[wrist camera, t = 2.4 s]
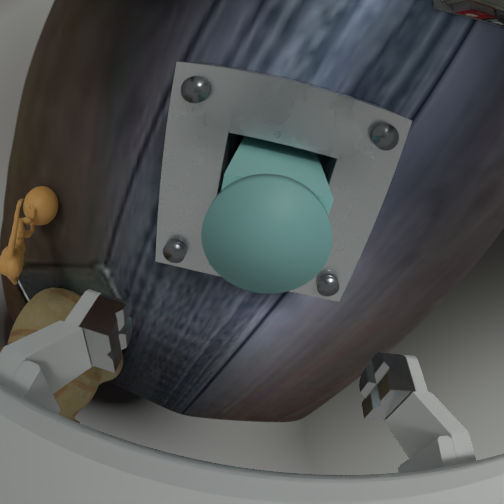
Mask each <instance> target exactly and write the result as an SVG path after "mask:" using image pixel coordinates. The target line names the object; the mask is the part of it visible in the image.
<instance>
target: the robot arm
mask: <svg viewBox="0 0 504 504" xmlns="http://www.w3.org/2000/svg"><path fill="white" fill-rule="evenodd" d="M131 311H132V308H131V303H130V302H129V301H125V300H122V299H119V298H116V297H113V296H109V295H106V294H103V293H99V292H96V291H93V290H90V289H89V290H87V291H85V292H84V294H83V295H82V297H81V298H80V299H79V301H78V302H77V304H76V305H75V306H74V308H73V309H72V311H71V312H70V314H69V315H68V316H67V318H66V319H65V321H61V320H60V321H58V322H56V323H53V324H51V325H49V326H47V327H45V328H43V329H41V330H38V331H36V332H34V333H32V334H30V335H28V336H26V337H24V338H21V339H19V340H17V341H15V342H13V343H11V344H9V345H7V346H5V347H4V348H3V349H2V351H1V352H0V504H504V454H502V455H498V456H494V457H490V458H486V459H482V460H477V461H476V458H475V454H474V450H473V447H472V443H471V439H470V436H469V432H468V431H467V430H466V429H465V428H464V427H463V426H462V425H461V424H460V423H459V422H458V420H457V419H456V418H455V417H454V416H453V415H452V414H451V413H450V412H449V411H448V410H447V409H446V408H445V407H444V405H443V404H442V403H441V402H440V401H439V400H438V399H437V398H436V397H435V396H434V395H433V394H432V393H430V392H428V391H427V387H426V384H425V381H424V378H423V374H422V371H421V368H420V365H419V362H418V359H417V358H416V357H415V356H409V355H400V354H390V353H381V352H378V353H376V354H375V355H374V356H373V358H372V364H371V365H369V366H367V367H366V368H365V369H364V371H363V372H362V374H361V378H360V384H359V387H360V393H361V394H362V395H363V396H364V398H365V399H364V400H363V402H362V407H363V414H364V419H374V420H385V423H386V424H387V426H388V427H389V429H390V430H391V432H392V433H393V435H394V436H395V438H396V439H397V441H398V442H399V444H400V445H401V447H402V448H403V450H404V451H405V453H406V454H407V456H408V457H409V460H407V461H406V462H404V463H403V464H401V465H400V467H399V468H398V471H399V473H388V474H370V475H314V474H313V475H312V474H296V473H283V472H273V471H264V470H255V469H248V468H241V467H235V466H228V465H222V464H217V463H212V462H207V461H202V460H197V459H192V458H188V457H184V456H179V455H175V454H171V453H167V452H163V451H160V450H156V449H153V448H149V447H146V446H142V445H139V444H136V443H133V442H130V441H127V440H123V439H121V438H118V437H115V436H112V435H109V434H106V433H103V432H101V431H98V430H95V429H93V428H90V427H88V426H85V425H83V424H80V423H78V422H75V421H73V420H71V419H68V418H66V417H64V416H62V415H59V412H60V410H61V409H60V406H59V404H58V403H57V401H56V399H55V397H54V395H53V394H54V393H55V392H56V391H58V390H59V389H61V388H62V387H64V386H65V385H66V384H68V383H69V382H71V381H72V380H74V379H75V378H76V377H78V376H79V375H81V374H82V373H84V372H85V371H86V370H88V369H89V368H91V367H92V366H95V367H98V368H101V369H105V370H108V371H111V372H114V373H115V372H116V370H117V367H118V365H119V363H120V361H121V359H122V353H121V350H123V349H125V348H126V347H127V346H128V344H129V341H130V338H131V334H132V328H133V323H132V319H131V318H130V317H129V315H130V313H131ZM91 365H92V366H91Z"/></svg>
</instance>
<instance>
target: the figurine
mask: <svg viewBox="0 0 504 504" xmlns="http://www.w3.org/2000/svg"><path fill="white" fill-rule="evenodd" d="M22 201H23V199H22ZM22 201H21V199H20V201H19V200H18V203H17V205H16V207H17V208H16V211H15V215H14V224H13V228H12V233H11V236H10V239H9V244H8V246H7V247H6V248H4V250H3V251H2V254H1V257H0V274H3V275H5V276H7V277H8V278H9V279H10V280H11V282H12V283H13V284H15V285H16V284H17V283H18V278H19V275H20V273H21V271H22V269H23V263H24V253H25V250H26V249H25V242H24V237H25V238H29V237H30V236H31V235H32V233H34V229H35V225H45V224H47V223H49V222H51V221H52V220H53V219H54V217H55V216H56V214H57V211H58V199H57V196H56V194H55V193H54V192H53V191H52V190H51V189H50V188H48V187H45V186H39V187H35V188H33V189H32V190H31V191H30V192H29V193H28V194H27V195H26V197H25V200H24V204H23V209H24V214H25V216H26V217H25V218H19V213H20V207H21V204H22ZM24 223H25V224H30V227H31V229H30V230H27V231H26V230H25V228H24Z"/></svg>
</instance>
